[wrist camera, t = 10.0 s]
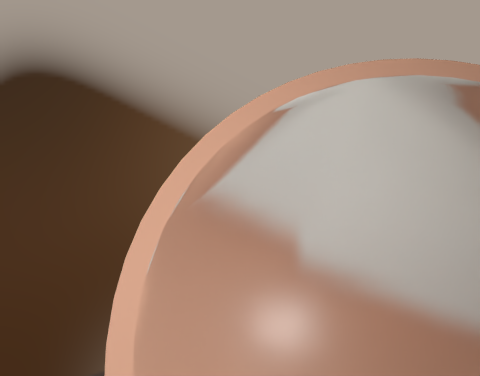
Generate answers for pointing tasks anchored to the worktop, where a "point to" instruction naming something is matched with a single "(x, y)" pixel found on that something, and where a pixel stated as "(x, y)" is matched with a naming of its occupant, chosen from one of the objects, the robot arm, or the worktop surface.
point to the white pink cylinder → (316, 235)
